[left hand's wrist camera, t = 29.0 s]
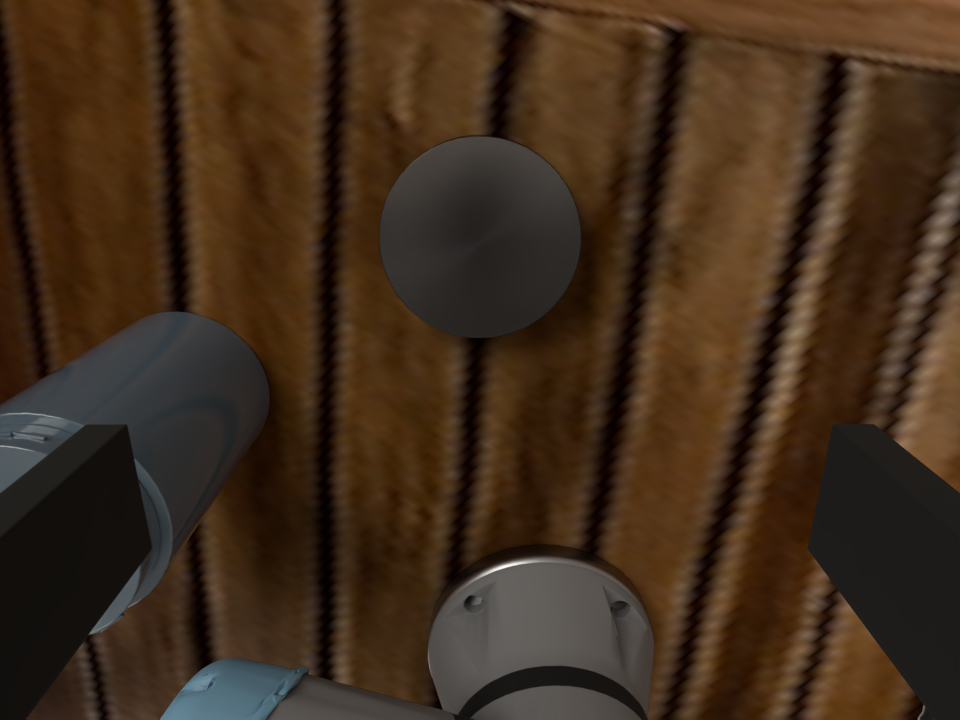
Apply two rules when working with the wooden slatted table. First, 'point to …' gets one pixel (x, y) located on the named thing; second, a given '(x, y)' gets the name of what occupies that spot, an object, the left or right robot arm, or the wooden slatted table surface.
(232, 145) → the wooden slatted table surface
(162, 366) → the jar
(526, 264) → the lid
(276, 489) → the wooden slatted table surface
